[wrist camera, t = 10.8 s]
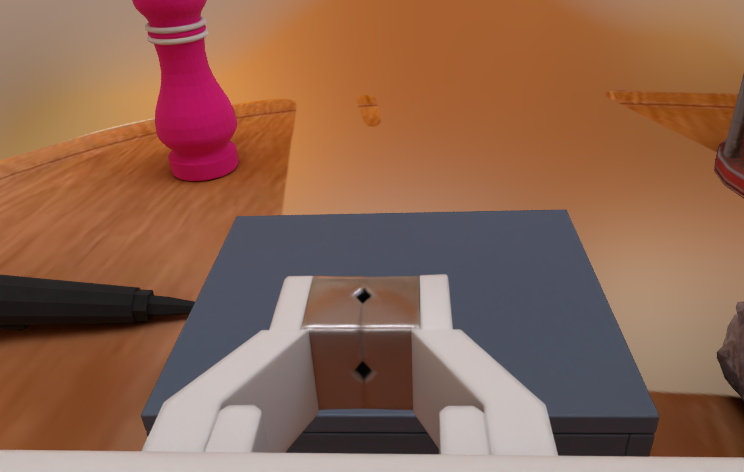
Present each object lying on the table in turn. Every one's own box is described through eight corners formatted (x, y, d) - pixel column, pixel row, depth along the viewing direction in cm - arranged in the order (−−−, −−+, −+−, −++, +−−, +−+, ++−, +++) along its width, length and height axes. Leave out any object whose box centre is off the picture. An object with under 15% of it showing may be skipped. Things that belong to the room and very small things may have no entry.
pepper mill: (241, 180, 57) (198, -63, 46) (161, 188, 56) (98, -56, 46) (245, 149, 63) (208, -71, 52) (173, 156, 62) (121, -65, 52)
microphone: (209, 333, 43) (-96, 322, 41) (209, 252, 42) (-105, 238, 40) (191, 368, 37) (-159, 356, 36) (190, 276, 36) (-173, 261, 35)
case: (258, 360, 36) (235, 237, 32) (551, 358, 35) (568, 231, 30) (194, 575, 25) (145, 433, 21) (615, 584, 24) (655, 435, 20)
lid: (238, 229, 32) (236, 215, 32) (565, 222, 31) (566, 208, 31) (145, 432, 21) (139, 415, 20) (656, 434, 20) (661, 416, 19)
